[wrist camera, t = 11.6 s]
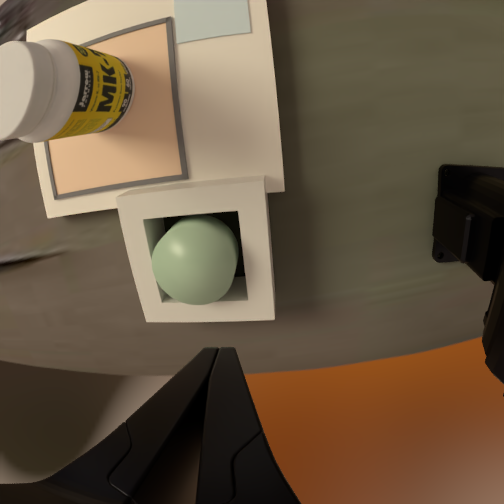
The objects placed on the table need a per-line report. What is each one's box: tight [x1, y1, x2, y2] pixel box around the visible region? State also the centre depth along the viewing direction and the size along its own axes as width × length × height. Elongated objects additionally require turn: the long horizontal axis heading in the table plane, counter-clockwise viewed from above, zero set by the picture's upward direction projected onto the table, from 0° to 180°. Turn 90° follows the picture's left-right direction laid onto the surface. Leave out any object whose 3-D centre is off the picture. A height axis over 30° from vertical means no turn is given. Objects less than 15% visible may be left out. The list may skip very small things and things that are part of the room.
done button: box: [152, 214, 239, 305], centre depth 18 cm, size 4×4×2 cm
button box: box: [116, 175, 275, 322], centre depth 19 cm, size 8×8×3 cm
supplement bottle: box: [0, 39, 135, 143], centre depth 12 cm, size 5×5×8 cm
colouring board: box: [27, 0, 285, 218], centre depth 16 cm, size 16×14×1 cm
